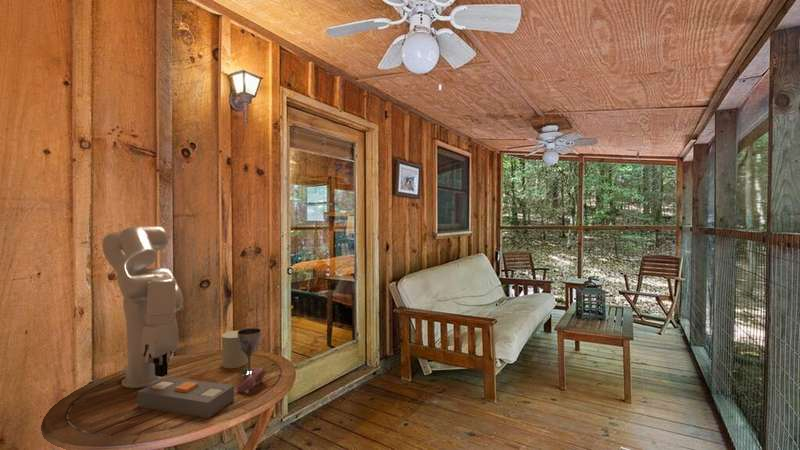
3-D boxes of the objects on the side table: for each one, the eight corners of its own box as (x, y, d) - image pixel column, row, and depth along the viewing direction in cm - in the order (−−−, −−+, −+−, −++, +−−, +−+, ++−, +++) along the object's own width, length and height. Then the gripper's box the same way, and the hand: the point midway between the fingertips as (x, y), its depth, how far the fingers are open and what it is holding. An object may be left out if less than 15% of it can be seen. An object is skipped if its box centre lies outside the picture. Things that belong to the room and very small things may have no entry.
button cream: (150, 396, 118) (150, 387, 118) (162, 390, 122) (162, 381, 122) (162, 398, 117) (162, 389, 117) (174, 392, 121) (174, 382, 121)
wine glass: (237, 377, 135) (237, 335, 135) (237, 369, 143) (237, 329, 142) (261, 374, 139) (261, 333, 138) (260, 366, 146) (260, 327, 145)
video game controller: (246, 398, 124) (255, 380, 123) (234, 391, 124) (243, 373, 124) (262, 385, 133) (271, 368, 132) (252, 378, 134) (260, 361, 133)
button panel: (137, 406, 115) (137, 391, 115) (168, 389, 126) (168, 376, 126) (208, 418, 109) (208, 402, 109) (234, 399, 120) (234, 385, 119)
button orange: (174, 397, 116) (174, 387, 116) (186, 390, 120) (186, 381, 120) (187, 399, 115) (187, 389, 114) (198, 392, 119) (198, 383, 119)
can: (242, 368, 143) (242, 336, 143) (217, 368, 143) (217, 336, 143) (251, 359, 153) (251, 329, 152) (227, 359, 152) (227, 329, 152)
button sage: (200, 404, 113) (200, 394, 113) (210, 397, 118) (210, 388, 118) (212, 406, 112) (212, 396, 112) (223, 399, 117) (223, 390, 117)
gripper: (171, 309, 127) (170, 363, 128) (129, 323, 113) (129, 384, 114) (190, 312, 125) (189, 367, 126) (150, 326, 111) (149, 388, 112)
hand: (161, 375), depth 120 cm, fingers closed
